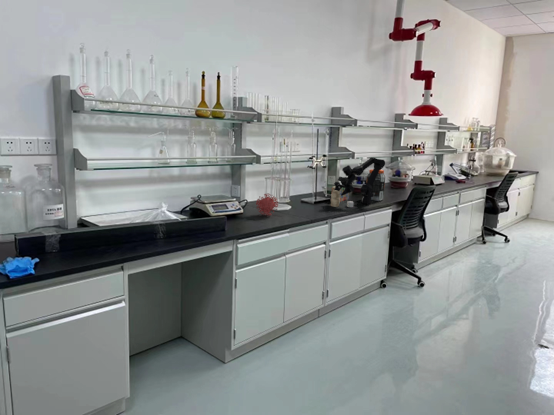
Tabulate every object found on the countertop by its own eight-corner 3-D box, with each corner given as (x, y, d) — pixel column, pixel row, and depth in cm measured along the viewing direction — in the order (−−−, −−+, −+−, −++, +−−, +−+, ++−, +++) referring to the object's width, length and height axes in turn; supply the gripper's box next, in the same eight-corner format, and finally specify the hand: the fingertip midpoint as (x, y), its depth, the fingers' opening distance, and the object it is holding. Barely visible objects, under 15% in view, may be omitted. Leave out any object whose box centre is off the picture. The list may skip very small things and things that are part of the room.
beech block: (335, 205, 329) (336, 190, 327) (338, 206, 325) (340, 191, 323) (330, 205, 327) (331, 190, 324) (334, 206, 323) (335, 191, 320)
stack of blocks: (342, 198, 364) (343, 184, 362) (349, 199, 360) (350, 185, 358) (330, 201, 347) (331, 186, 345) (337, 202, 343) (338, 187, 341)
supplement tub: (386, 201, 361) (389, 171, 356) (369, 201, 357) (372, 170, 352) (378, 197, 376) (380, 169, 371) (362, 197, 372) (364, 168, 367)
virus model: (282, 216, 280) (283, 194, 277) (265, 218, 270) (266, 196, 268) (267, 212, 291) (268, 191, 288) (251, 214, 281) (252, 192, 278)
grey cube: (351, 206, 329) (352, 201, 328) (353, 207, 325) (353, 202, 324) (346, 206, 328) (347, 201, 327) (348, 207, 324) (348, 202, 324)
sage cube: (339, 203, 339) (339, 198, 338) (338, 204, 334) (338, 199, 333) (333, 202, 340) (333, 198, 340) (332, 203, 336) (332, 199, 335)
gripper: (336, 171, 332) (324, 185, 329) (352, 174, 317) (340, 189, 313) (343, 181, 338) (331, 195, 334) (359, 184, 322) (347, 199, 319)
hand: (337, 194), depth 325 cm, fingers open, 9 cm apart
